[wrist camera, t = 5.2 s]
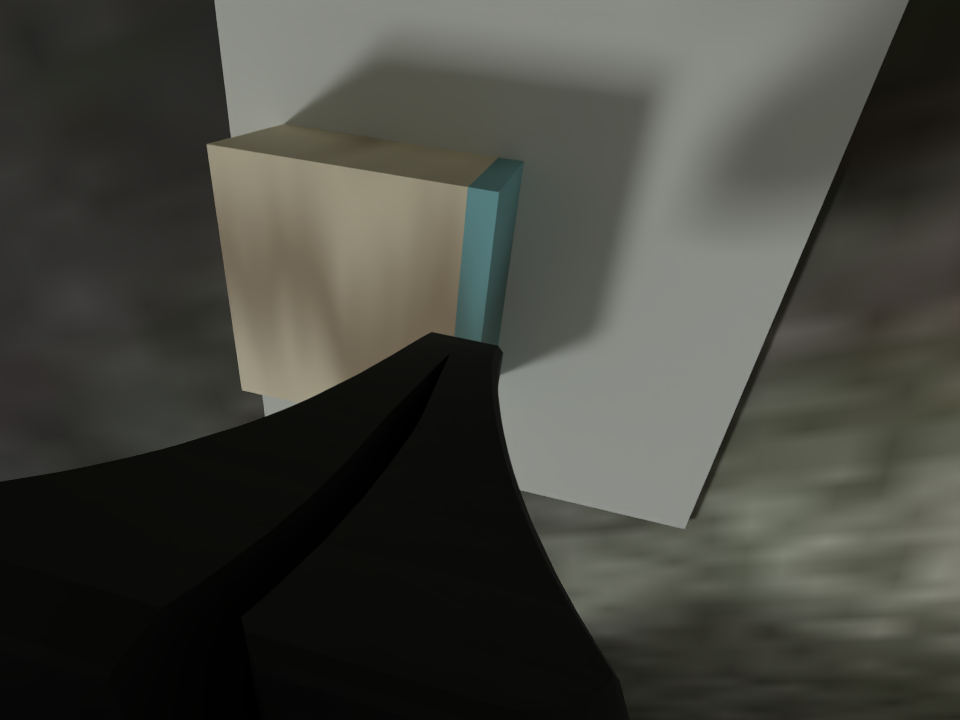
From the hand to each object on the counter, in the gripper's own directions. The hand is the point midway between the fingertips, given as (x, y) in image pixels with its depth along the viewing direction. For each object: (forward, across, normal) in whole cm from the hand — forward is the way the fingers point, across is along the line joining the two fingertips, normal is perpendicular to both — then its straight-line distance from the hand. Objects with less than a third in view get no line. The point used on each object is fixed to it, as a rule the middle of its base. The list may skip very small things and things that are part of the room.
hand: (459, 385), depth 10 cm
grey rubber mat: (+5, 0, 0) cm, 5 cm away
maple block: (+4, 0, 0) cm, 4 cm away
